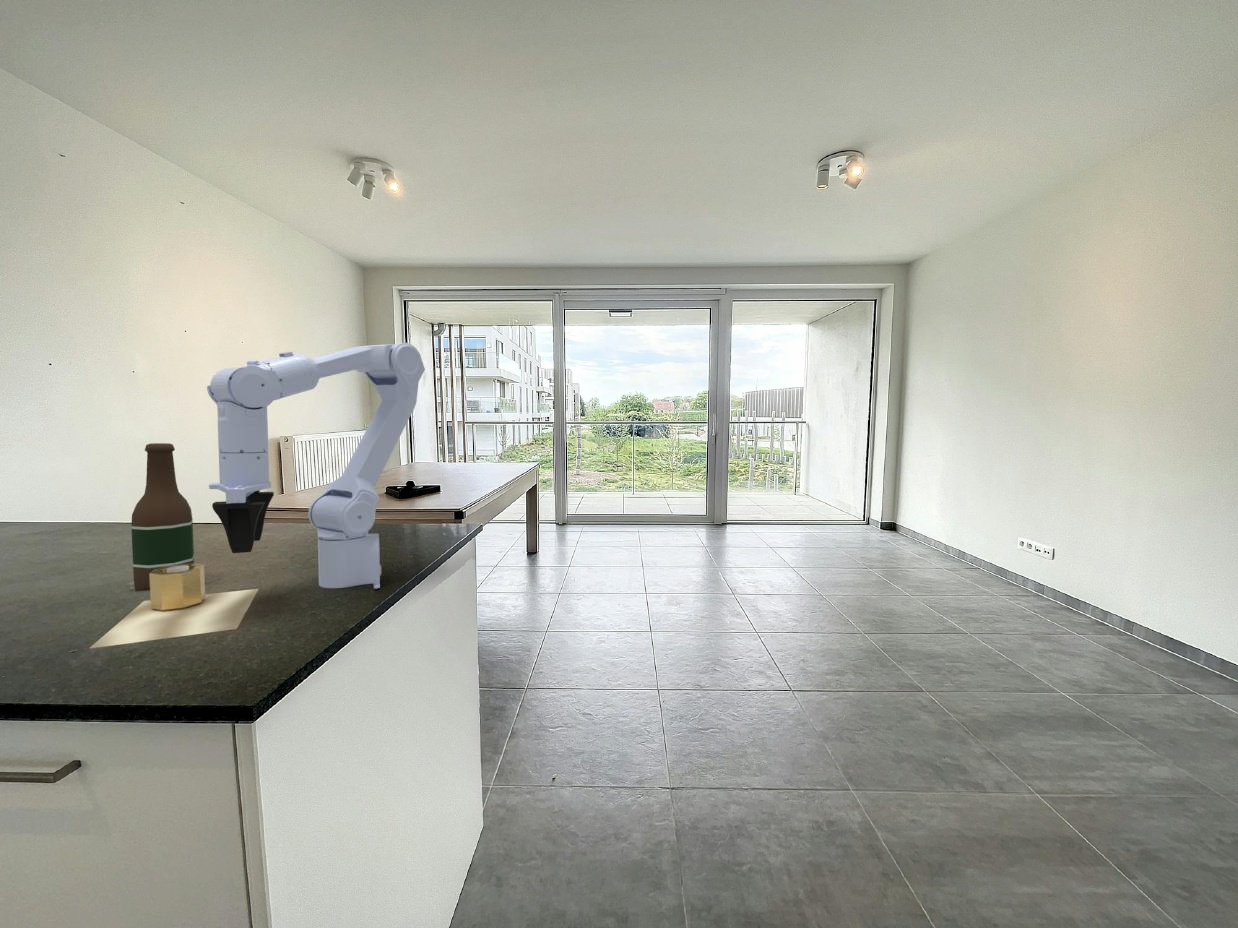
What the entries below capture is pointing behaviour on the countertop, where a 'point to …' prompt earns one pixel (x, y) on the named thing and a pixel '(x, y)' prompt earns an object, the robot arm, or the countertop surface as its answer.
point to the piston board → (180, 618)
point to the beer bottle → (160, 519)
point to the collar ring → (177, 587)
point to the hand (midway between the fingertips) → (247, 546)
